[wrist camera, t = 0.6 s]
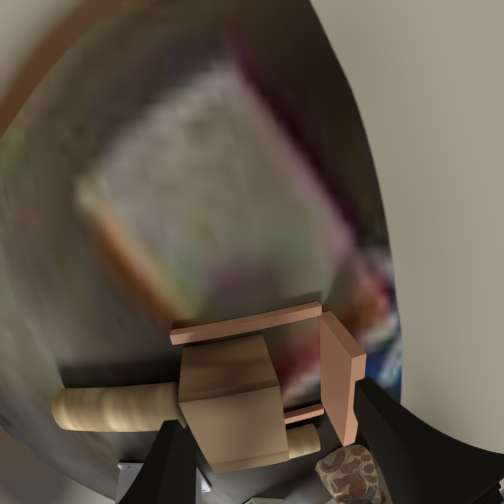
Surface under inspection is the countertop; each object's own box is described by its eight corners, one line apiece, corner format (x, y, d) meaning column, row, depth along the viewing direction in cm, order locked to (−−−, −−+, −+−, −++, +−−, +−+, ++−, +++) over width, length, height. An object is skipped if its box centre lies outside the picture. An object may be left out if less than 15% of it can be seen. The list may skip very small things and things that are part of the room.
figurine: (320, 452, 27) (353, 531, 16) (372, 437, 28) (412, 505, 17) (311, 477, 29) (337, 546, 18) (359, 465, 30) (390, 526, 19)
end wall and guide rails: (209, 431, 24) (212, 481, 18) (170, 330, 20) (161, 383, 14) (330, 405, 25) (353, 449, 19) (330, 298, 21) (367, 339, 15)
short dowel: (236, 444, 26) (241, 470, 23) (231, 436, 24) (237, 465, 21) (310, 428, 26) (318, 453, 24) (312, 418, 24) (321, 446, 22)
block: (210, 422, 23) (214, 473, 17) (182, 347, 20) (177, 402, 15) (274, 411, 24) (289, 460, 18) (261, 333, 21) (279, 385, 15)
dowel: (79, 410, 21) (68, 437, 18) (61, 379, 20) (45, 406, 16) (187, 405, 22) (185, 438, 19) (173, 371, 21) (169, 405, 18)
